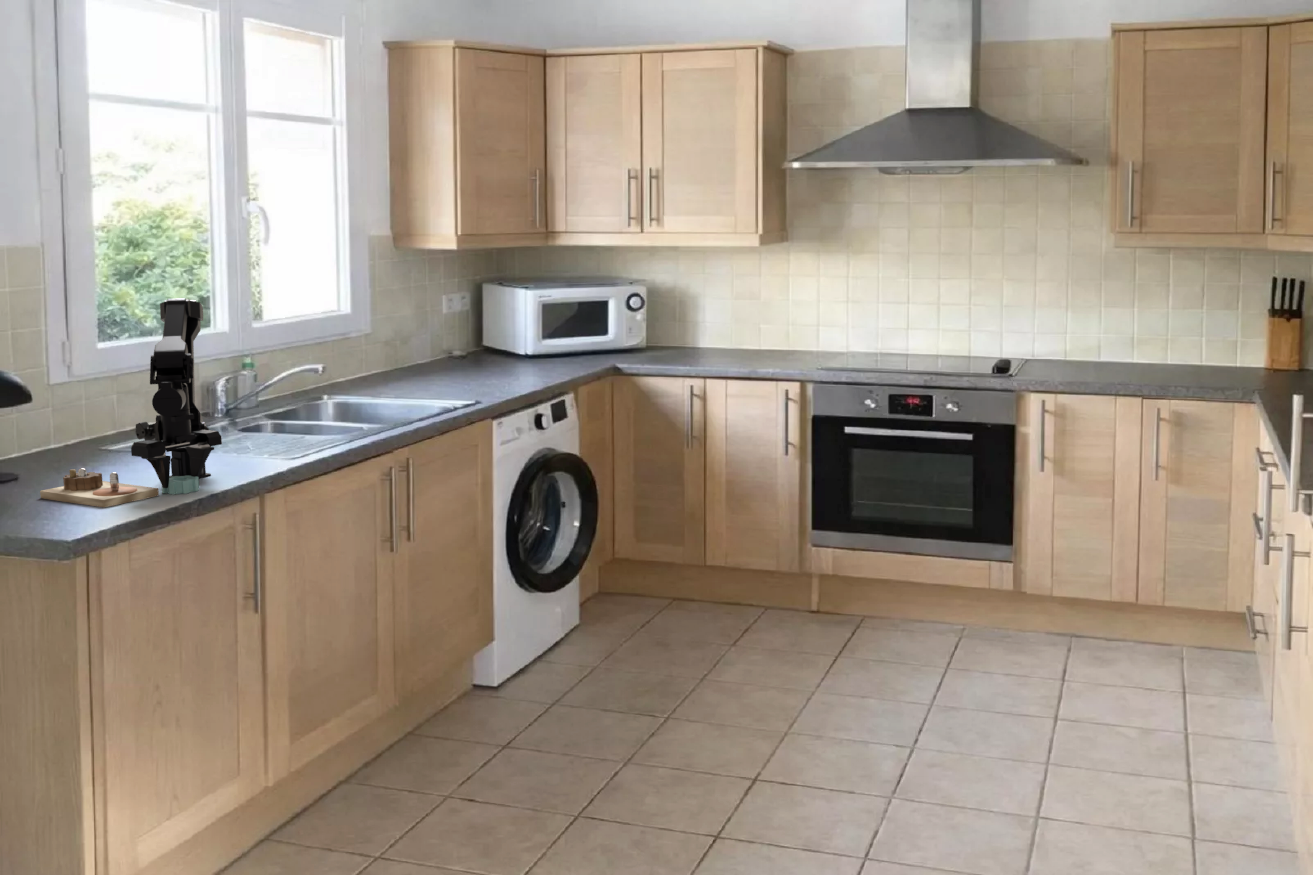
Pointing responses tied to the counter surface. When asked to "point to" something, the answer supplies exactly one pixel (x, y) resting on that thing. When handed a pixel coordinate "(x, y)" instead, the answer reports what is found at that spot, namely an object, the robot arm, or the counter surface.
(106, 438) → the counter surface
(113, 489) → the steel pegs
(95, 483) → the gear
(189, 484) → the loose gear
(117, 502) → the gear board
